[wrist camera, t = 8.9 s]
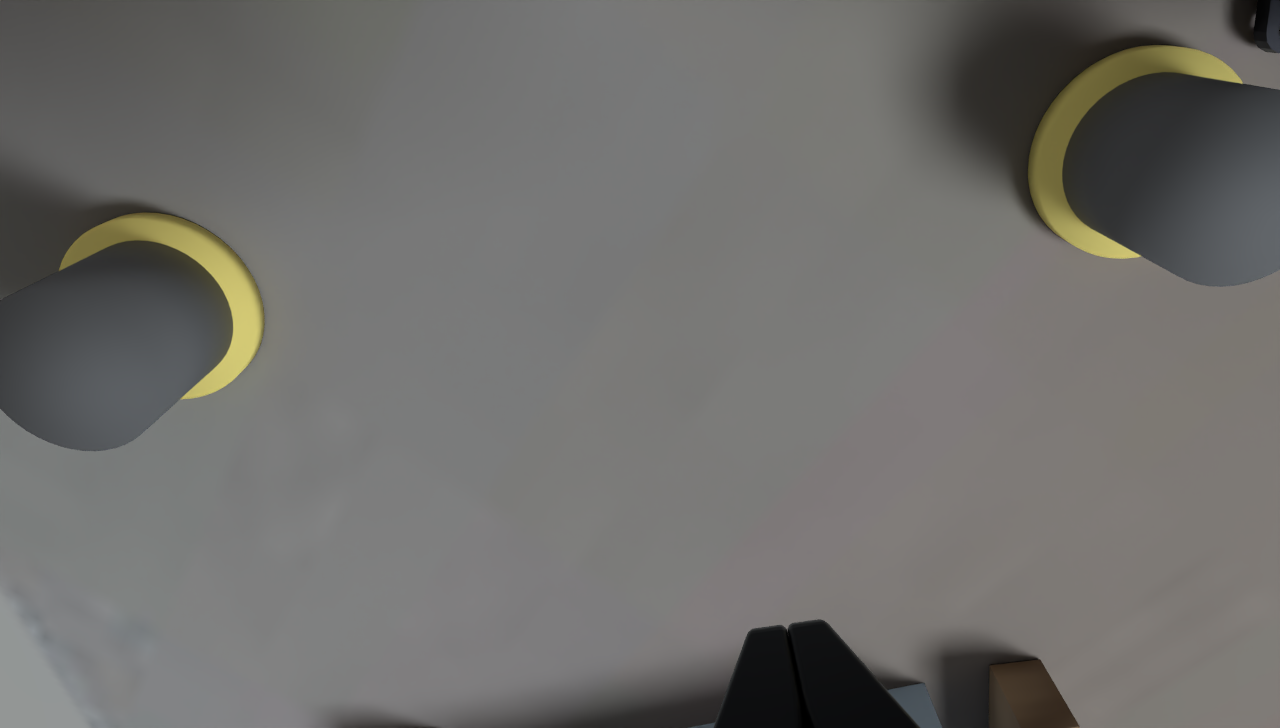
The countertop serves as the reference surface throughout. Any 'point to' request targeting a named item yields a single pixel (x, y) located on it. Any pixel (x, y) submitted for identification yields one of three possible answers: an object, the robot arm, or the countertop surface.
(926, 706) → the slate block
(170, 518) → the countertop surface
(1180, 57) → the bollards
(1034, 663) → the bay
